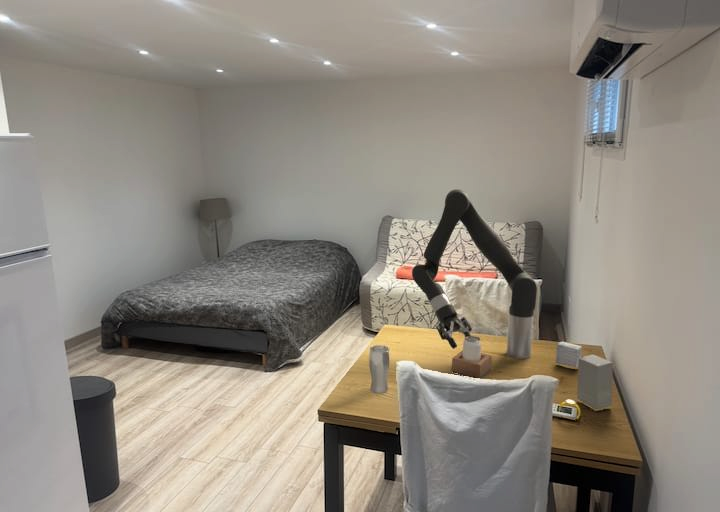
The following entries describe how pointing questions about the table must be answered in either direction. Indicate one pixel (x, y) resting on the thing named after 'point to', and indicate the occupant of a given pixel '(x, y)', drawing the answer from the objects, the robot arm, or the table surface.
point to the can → (472, 348)
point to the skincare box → (595, 381)
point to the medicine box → (568, 354)
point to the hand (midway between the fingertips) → (463, 345)
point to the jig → (471, 366)
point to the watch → (571, 403)
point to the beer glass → (379, 368)
